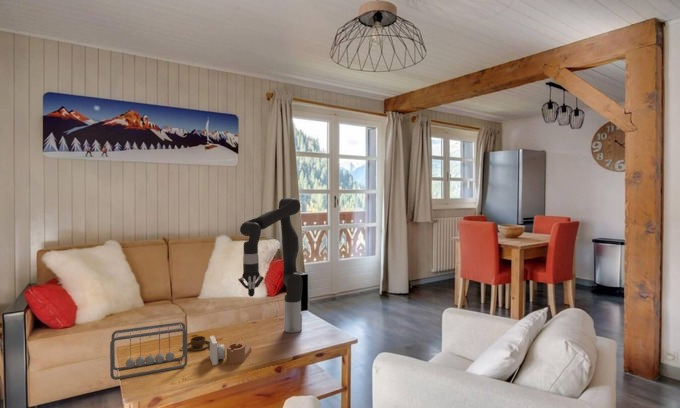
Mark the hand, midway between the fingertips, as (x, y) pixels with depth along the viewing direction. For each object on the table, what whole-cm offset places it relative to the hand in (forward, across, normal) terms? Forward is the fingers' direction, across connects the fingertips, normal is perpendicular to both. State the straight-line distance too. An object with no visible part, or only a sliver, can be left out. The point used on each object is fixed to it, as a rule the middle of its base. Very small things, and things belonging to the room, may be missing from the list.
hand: (251, 296), depth 200 cm
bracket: (+27, +8, +8) cm, 29 cm away
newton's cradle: (+26, +47, +4) cm, 54 cm away
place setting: (+27, +25, -9) cm, 38 cm away
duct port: (+26, +18, +8) cm, 33 cm away
